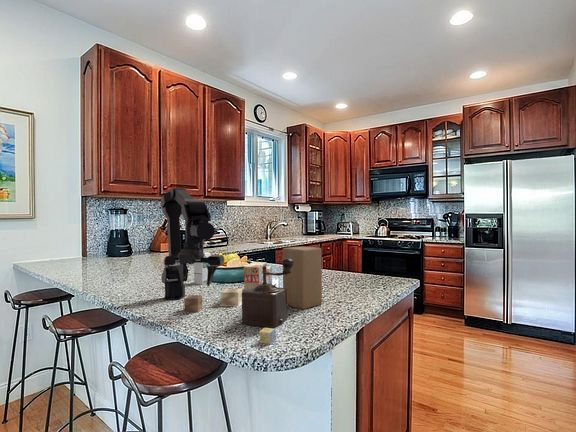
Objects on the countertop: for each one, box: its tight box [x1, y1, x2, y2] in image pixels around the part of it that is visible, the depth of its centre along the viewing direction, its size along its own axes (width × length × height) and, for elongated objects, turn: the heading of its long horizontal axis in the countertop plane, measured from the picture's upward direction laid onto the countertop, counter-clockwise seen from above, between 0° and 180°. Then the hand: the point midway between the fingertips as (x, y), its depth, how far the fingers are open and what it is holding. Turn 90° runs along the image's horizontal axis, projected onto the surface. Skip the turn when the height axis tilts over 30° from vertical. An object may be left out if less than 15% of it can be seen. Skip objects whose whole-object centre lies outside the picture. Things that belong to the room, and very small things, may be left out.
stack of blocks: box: [243, 261, 273, 292], centre depth 140 cm, size 21×6×12 cm, turn 169°
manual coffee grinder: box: [241, 258, 293, 329], centre depth 102 cm, size 16×11×18 cm
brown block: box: [183, 294, 203, 313], centre depth 111 cm, size 4×4×5 cm
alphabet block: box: [258, 328, 277, 345], centre depth 84 cm, size 3×3×3 cm
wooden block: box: [282, 245, 323, 310], centre depth 119 cm, size 10×10×20 cm
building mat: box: [219, 302, 242, 307], centre depth 119 cm, size 13×15×1 cm
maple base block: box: [220, 288, 243, 305], centre depth 120 cm, size 6×6×4 cm
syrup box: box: [193, 251, 212, 286], centre depth 159 cm, size 6×6×14 cm
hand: (194, 286), depth 111 cm, fingers open, 9 cm apart
